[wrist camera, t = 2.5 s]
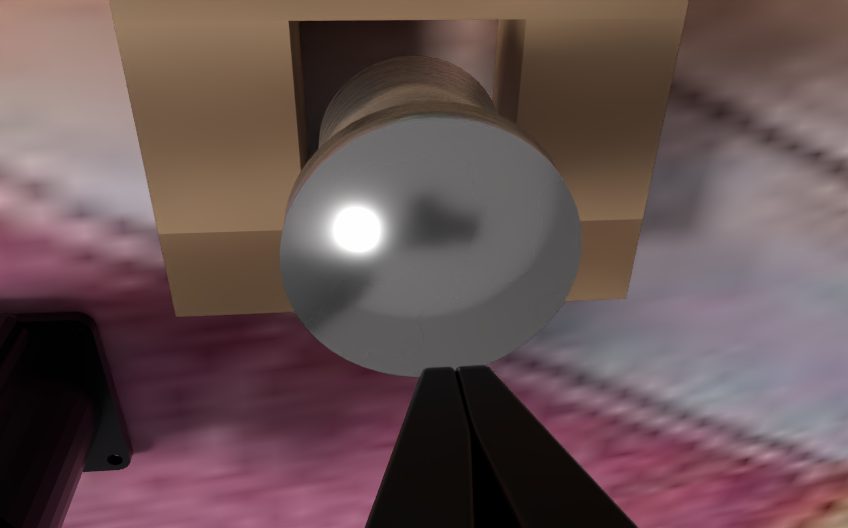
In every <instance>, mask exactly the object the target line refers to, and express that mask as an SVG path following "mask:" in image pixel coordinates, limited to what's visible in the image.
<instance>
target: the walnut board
mask: <svg viewBox="0 0 848 528" xmlns="http://www.w3.org/2000/svg"><path fill="white" fill-rule="evenodd" d="M109 3H110V8H111V13H112V18H113V22H114V27H115V32H116V36H117V41H118V46H119V51H120V55H121V60H122V65H123V70H124V74H125V79H126V84H127V88H128V93H129V98H130V103H131V107H132V112H133V117H134V121H135V126H136V131H137V136H138V140H139V145H140V150H141V154H142V159H143V164H144V169H145V173H146V178H147V183H148V188H149V192H150V197H151V202H152V206H153V211H154V216H155V221H156V225H157V230H158V235H159V239H160V244H161V249H162V254H163V258H164V263H165V268H166V272H167V277H168V282H169V287H170V291H171V296H172V301H173V305H174V310H175V315H176V317H186V316H211V315H235V314H260V313H284V312H295V311H294V310H293V308H292V306H291V304H290V302H289V300H288V297H287V294H286V292H285V289H284V286H283V281H282V276H281V271H280V245H281V238H282V230H283V223H284V215H285V209H286V205H287V202H288V199H289V195H290V192H291V190H292V188H293V186H294V184H295V181H296V179H297V177H298V175H299V174H300V172H301V171H302V169H303V168H304V166H305V165H306V163H307V162H308V160H309V152H308V139H307V125H306V112H305V98H304V85H303V72H302V58H301V45H300V31H299V21H328V20H493V19H499V20H498V34H497V47H496V61H495V75H494V88H493V104H494V106H495V108H496V110H497V112H498V114H499V115H500V116H502V117H504V118H506V119H509V120H510V121H512V122H513V123H515V124H516V125H518V126H519V127H521V128H522V129H524V130H525V131H526V132H528V133H529V134H530V135H531V136H532V137H533V138H534V139H535V140H537V141H538V142H539V144H540V145H541V146H542V147H543V148H544V150H545V151H546V152H547V153H548V154H549V156H550V157H551V159H552V160H553V162H554V164H555V165H556V167H557V169H558V170H559V172H560V174H561V176H562V178H563V179H564V181H565V183H566V185H567V187H568V188H569V190H570V192H571V194H572V197H573V199H574V202H575V204H576V207H577V209H578V214H579V218H580V223H581V232H582V249H581V259H580V263H579V267H578V271H577V275H576V278H575V280H574V283H573V285H572V288H571V290H570V292H569V294H568V296H567V297H566V299H565V301H579V300H603V299H626V296H627V292H628V287H629V282H630V277H631V273H632V268H633V263H634V258H635V254H636V249H637V244H638V240H639V235H640V230H641V225H642V221H643V216H644V211H645V206H646V202H647V197H648V192H649V187H650V183H651V178H652V173H653V168H654V164H655V159H656V154H657V149H658V145H659V140H660V135H661V131H662V126H663V121H664V116H665V112H666V107H667V102H668V97H669V93H670V88H671V83H672V78H673V74H674V69H675V64H676V59H677V55H678V50H679V45H680V40H681V36H682V31H683V26H684V21H685V17H686V12H687V7H688V3H689V0H109Z"/></svg>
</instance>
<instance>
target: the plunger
mask: <svg viewBox="0 0 848 528" xmlns="http://www.w3.org/2000/svg"><path fill="white" fill-rule="evenodd" d="M581 249H582V232H581V223H580V218H579V214H578V209H577V207H576V204H575V202H574V199H573V197H572V194H571V192H570V190H569V188H568V187H567V185H566V183H565V181H564V179H563V178H562V176H561V174H560V172H559V170H558V169H557V167H556V165H555V164H554V162H553V160H552V159H551V157H550V156H549V154H548V153H547V152H546V151H545V150H544V148H543V147H542V146H541V145H540V144H539V142H538V141H537V140H535V139H534V138H533V137H532V136H531V135H530V134H529V133H528V132H526V131H525V130H524V129H522V128H521V127H519V126H518V125H516V124H515V123H513V122H512V121H510V120H509V119H506V118H504V117H502V116H500V115H499V114H498V112H497V110H496V108H495V106H494V104H493V102H492V100H491V98H490V97H489V95H488V93H487V92H486V91H485V89H484V88H483V87H482V86H481V85H480V83H479V82H478V81H476V80H475V79H474V78H473V77H472V76H471V75H470V74H468V73H467V72H465V71H464V70H462V69H461V68H459V67H457V66H455V65H453V64H451V63H449V62H446V61H443V60H440V59H437V58H432V57H426V56H399V57H394V58H389V59H385V60H383V61H380V62H377V63H374V64H372V65H370V66H368V67H366V68H364V69H362V70H361V71H359V72H358V73H357V74H355V75H354V76H352V77H351V78H350V79H349V80H348V81H347V82H346V83H344V84H343V86H342V87H341V88H340V89H339V90H338V91H337V93H336V94H335V95H334V97H333V98H332V100H331V102H330V103H329V105H328V107H327V109H326V112H325V114H324V117H323V120H322V123H321V128H320V135H319V147H318V150H317V151H316V152H315V154H314V155H313V156H312V157H311V158H310V159H309V160H308V162H307V163H306V165H305V166H304V168H303V169H302V171H301V172H300V174H299V175H298V177H297V179H296V181H295V184H294V186H293V188H292V190H291V192H290V195H289V199H288V202H287V205H286V209H285V215H284V223H283V230H282V238H281V245H280V271H281V276H282V281H283V286H284V289H285V292H286V294H287V297H288V300H289V302H290V304H291V306H292V308H293V310H294V311H295V313H296V315H297V316H298V318H299V319H300V321H301V322H302V323H303V325H304V326H305V327H306V329H307V330H308V331H309V332H310V333H311V334H312V335H313V336H314V337H315V338H316V339H317V340H318V341H320V342H321V343H322V344H323V345H325V346H326V347H327V348H329V349H330V350H331V351H333V352H334V353H336V354H338V355H339V356H341V357H343V358H344V359H346V360H349V361H351V362H353V363H355V364H357V365H360V366H362V367H365V368H368V369H371V370H375V371H378V372H383V373H387V374H392V375H400V376H410V377H420V375H421V372H422V371H423V369H425V368H429V367H452V368H453V369H454V370H456V368H457V367H459V366H469V365H486V364H489V363H491V362H494V361H496V360H498V359H500V358H502V357H504V356H506V355H508V354H509V353H511V352H513V351H515V350H516V349H518V348H519V347H521V346H522V345H524V344H525V343H526V342H528V341H529V340H530V339H531V338H533V337H534V336H535V335H536V334H537V333H538V332H540V331H541V330H542V329H543V328H544V327H545V326H546V324H547V323H548V322H549V321H550V320H551V319H552V318H553V317H554V315H555V314H556V313H557V311H558V310H559V309H560V307H561V306H562V304H563V303H564V301H565V299H566V297H567V296H568V294H569V292H570V290H571V288H572V285H573V283H574V280H575V278H576V275H577V271H578V267H579V263H580V259H581Z"/></svg>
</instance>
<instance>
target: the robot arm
mask: <svg viewBox="0 0 848 528" xmlns="http://www.w3.org/2000/svg"><path fill="white" fill-rule="evenodd" d="M73 326H74V327H79V328H80V329H82V330H83V331H82V332H80V331H76V330H74V329H73V328H72V327H73ZM115 455H118V456H115ZM132 455H133V449H132V446H131V442H130V439H129V435H128V432H127V428H126V425H125V421H124V418H123V415H122V411H121V408H120V404H119V401H118V397H117V394H116V390H115V387H114V383H113V380H112V376H111V373H110V370H109V366H108V363H107V359H106V356H105V352H104V349H103V345H102V342H101V338H100V335H99V332H98V328H97V325H96V323H95V321H94V319H93V318H91V317H90V316H89V315H87V314H84V313H82V312H58V313H33V314H0V528H61V527H62V525H63V522H64V519H65V517H66V514H67V511H68V509H69V506H70V503H71V501H72V498H73V496H74V493H75V490H76V488H77V485H78V482H79V480H80V477H81V475H82V472H91V471H108V470H120V469H124V468H126V467H128V465H129V464H130V461H131V458H132ZM365 528H638V527H637V526H636V525H635V523H634V522H633V521H632V520H631V519H630V518H629V517H628V516H627V515H626V514H625V513H624V512H623V511H622V510H621V508H620V507H619V506H618V505H617V504H616V503H615V502H614V501H613V500H612V499H611V498H610V497H609V496H608V495H607V493H606V492H605V491H604V490H603V489H602V488H601V487H600V486H599V485H598V484H597V483H596V482H595V481H594V480H593V478H592V477H591V476H590V475H589V474H588V473H587V472H586V471H585V470H584V469H583V468H582V467H581V466H580V465H579V463H578V462H577V461H576V460H575V459H574V458H573V457H572V456H571V455H570V454H569V453H568V452H567V451H566V450H565V448H564V447H563V446H562V445H561V444H560V443H559V442H558V441H557V440H556V439H555V438H554V437H553V436H552V435H551V433H550V432H549V431H548V430H547V429H546V428H545V427H544V426H543V425H542V424H541V423H540V422H539V421H538V420H537V418H536V417H535V416H534V415H533V414H532V413H531V412H530V411H529V410H528V409H527V408H526V407H525V406H524V405H523V403H522V402H521V401H520V400H519V399H518V398H517V397H516V396H515V395H514V394H513V393H512V392H511V391H510V390H509V388H508V387H507V386H506V385H505V384H504V383H503V382H502V381H501V380H500V379H499V378H498V377H497V376H496V375H495V373H494V372H493V371H492V370H491V369H490V368H489V367H487V366H485V365H469V366H459V367H457V368H456V370H454V369H453V368H452V367H429V368H425V369H423V371H422V372H421V375H420V378H419V380H418V383H417V386H416V389H415V391H414V394H413V397H412V400H411V402H410V405H409V408H408V411H407V413H406V416H405V419H404V422H403V424H402V427H401V430H400V433H399V435H398V438H397V441H396V443H395V446H394V449H393V452H392V454H391V457H390V460H389V463H388V465H387V468H386V471H385V474H384V476H383V479H382V482H381V485H380V487H379V490H378V493H377V495H376V498H375V501H374V504H373V506H372V509H371V512H370V515H369V517H368V520H367V523H366V526H365Z"/></svg>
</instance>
